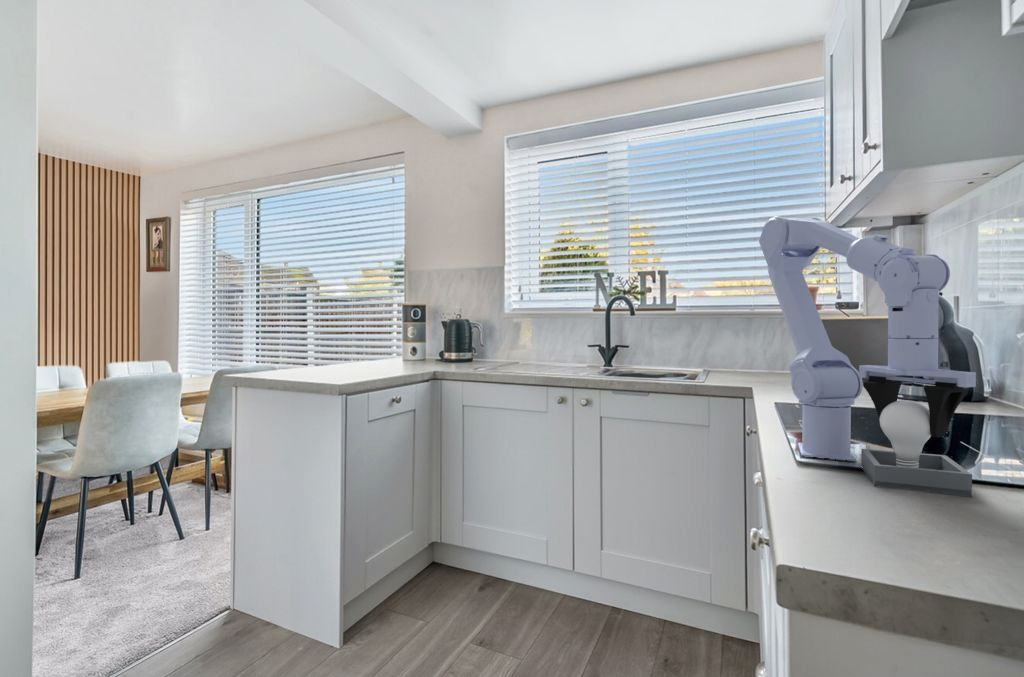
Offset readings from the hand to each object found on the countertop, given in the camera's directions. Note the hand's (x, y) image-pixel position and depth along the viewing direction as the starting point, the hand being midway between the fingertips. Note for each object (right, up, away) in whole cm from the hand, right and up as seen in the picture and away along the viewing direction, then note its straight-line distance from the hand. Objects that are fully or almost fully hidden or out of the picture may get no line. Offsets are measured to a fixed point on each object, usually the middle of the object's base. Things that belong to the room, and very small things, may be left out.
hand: (911, 431), depth 73 cm
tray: (0, -7, 0) cm, 7 cm away
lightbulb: (-1, -7, 0) cm, 7 cm away
